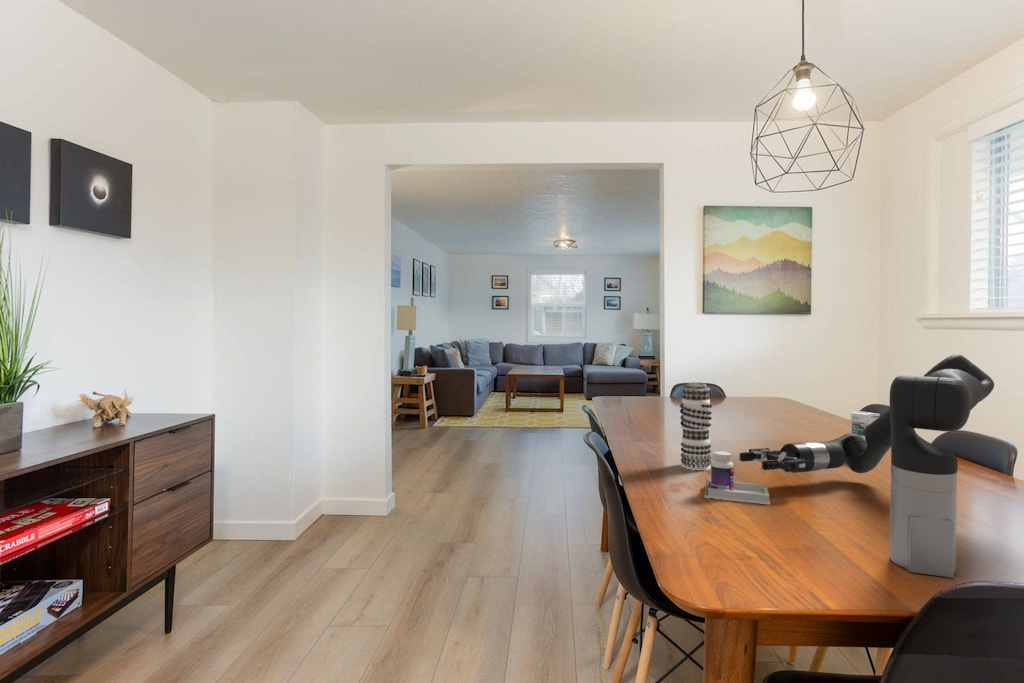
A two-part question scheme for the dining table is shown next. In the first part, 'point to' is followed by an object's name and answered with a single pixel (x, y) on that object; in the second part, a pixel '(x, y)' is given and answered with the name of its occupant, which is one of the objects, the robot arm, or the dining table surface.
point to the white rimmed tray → (740, 493)
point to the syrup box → (861, 422)
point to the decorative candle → (695, 427)
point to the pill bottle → (722, 471)
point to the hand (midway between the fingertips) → (751, 461)
